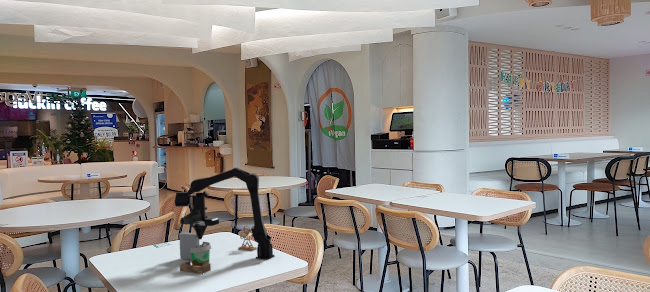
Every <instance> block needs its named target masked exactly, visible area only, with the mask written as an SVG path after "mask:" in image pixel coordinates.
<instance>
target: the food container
mask: <svg viewBox="0 0 650 292" xmlns="http://www.w3.org/2000/svg"><path fill="white" fill-rule="evenodd" d="M211 249H212V245H211V243H210V242H209V241H202V243H201V244H200V245H198V246H196V247H195V248H191V250H190V253H191V257H192V260H191V265H195V266H203V265H206V264H208V263H210V258H211V257H210V256H211V255H210V254H211V251H210V250H211Z"/></svg>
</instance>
